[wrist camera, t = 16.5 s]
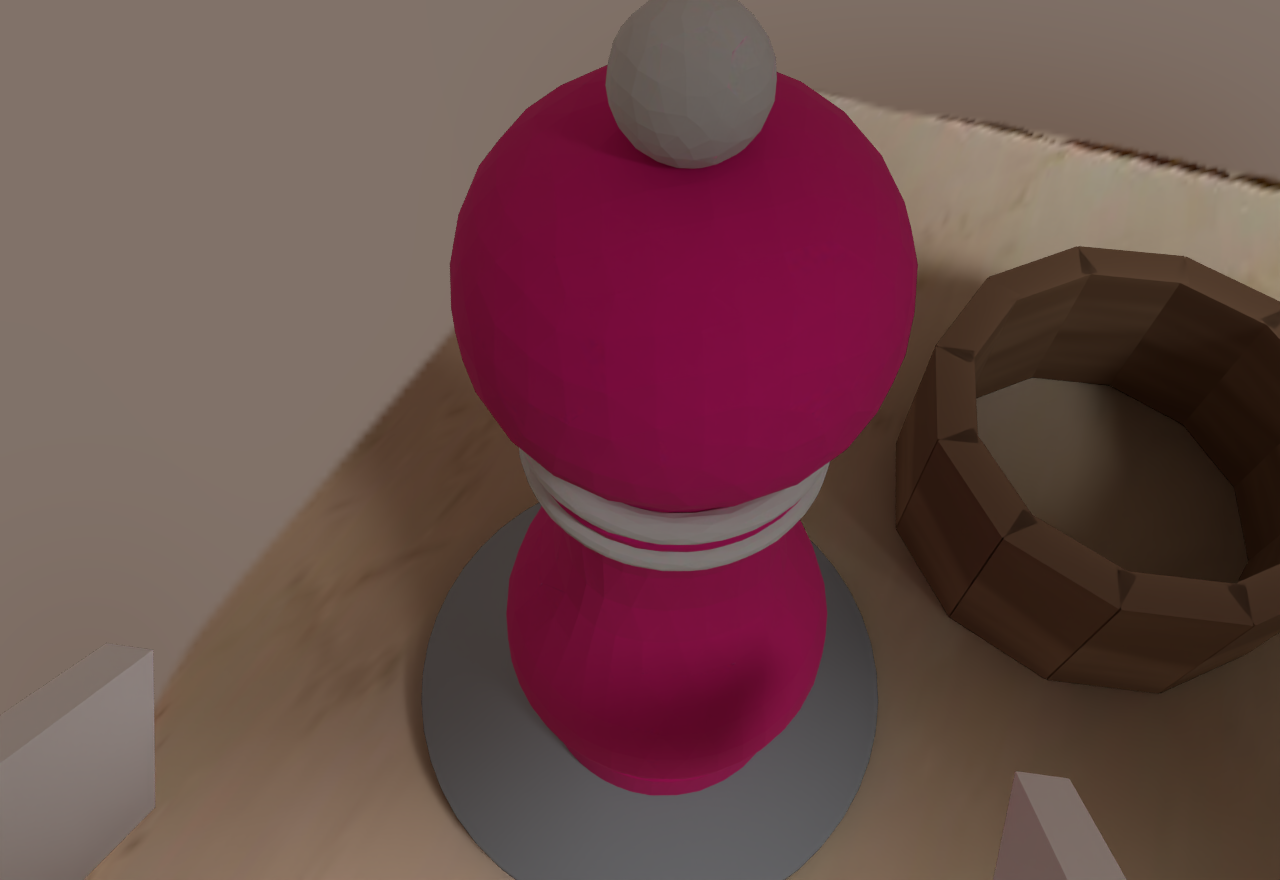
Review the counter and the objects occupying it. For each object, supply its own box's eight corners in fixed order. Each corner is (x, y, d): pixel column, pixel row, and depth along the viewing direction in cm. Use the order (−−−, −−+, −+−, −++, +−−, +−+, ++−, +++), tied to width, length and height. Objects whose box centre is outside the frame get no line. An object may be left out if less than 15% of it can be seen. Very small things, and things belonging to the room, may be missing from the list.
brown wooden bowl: (1333, 475, 31) (1445, 381, 26) (1190, 772, 26) (1297, 717, 22) (1001, 301, 34) (1052, 192, 30) (825, 536, 30) (855, 449, 25)
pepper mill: (521, 562, 29) (338, -176, 12) (775, 539, 29) (964, -210, 12) (531, 832, 25) (283, 333, 8) (823, 803, 25) (1201, 262, 8)
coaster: (955, 640, 28) (961, 632, 27) (699, 1042, 23) (700, 1041, 23) (613, 416, 32) (612, 405, 31) (331, 720, 27) (325, 713, 26)
